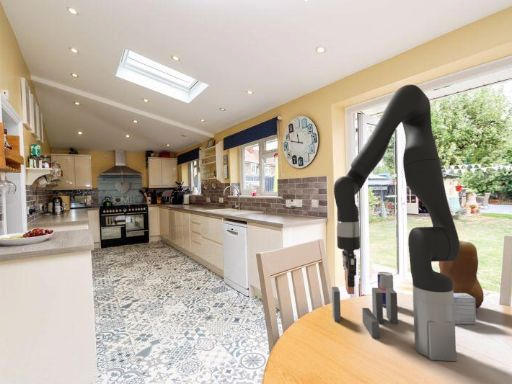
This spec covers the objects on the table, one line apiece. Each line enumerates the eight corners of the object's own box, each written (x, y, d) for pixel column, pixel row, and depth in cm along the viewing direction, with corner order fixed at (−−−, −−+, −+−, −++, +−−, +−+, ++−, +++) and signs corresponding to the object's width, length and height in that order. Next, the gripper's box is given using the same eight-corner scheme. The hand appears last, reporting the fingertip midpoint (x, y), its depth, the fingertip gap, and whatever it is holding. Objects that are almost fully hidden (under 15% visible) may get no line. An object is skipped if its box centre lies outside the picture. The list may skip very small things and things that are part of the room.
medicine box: (467, 318, 93) (466, 292, 93) (476, 325, 88) (475, 297, 88) (442, 318, 94) (441, 292, 94) (450, 324, 89) (449, 297, 89)
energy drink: (375, 303, 107) (374, 272, 108) (386, 301, 109) (385, 271, 109) (385, 308, 102) (384, 276, 102) (397, 306, 104) (396, 274, 104)
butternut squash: (484, 306, 102) (481, 238, 102) (484, 320, 91) (481, 244, 92) (439, 298, 111) (437, 235, 111) (434, 310, 100) (432, 240, 101)
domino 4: (383, 323, 91) (382, 292, 91) (376, 323, 91) (375, 292, 92) (378, 316, 96) (377, 287, 96) (372, 316, 96) (371, 287, 96)
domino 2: (354, 294, 93) (353, 264, 93) (348, 294, 93) (347, 264, 93) (351, 289, 98) (350, 260, 98) (345, 288, 98) (344, 260, 98)
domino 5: (397, 323, 90) (396, 293, 91) (391, 323, 91) (390, 292, 91) (392, 317, 95) (391, 288, 96) (386, 317, 96) (385, 287, 96)
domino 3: (369, 323, 92) (379, 338, 82) (362, 323, 92) (372, 338, 82) (368, 307, 92) (378, 321, 82) (362, 307, 92) (371, 321, 82)
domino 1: (340, 321, 93) (339, 291, 93) (334, 321, 93) (333, 291, 93) (338, 315, 98) (337, 286, 98) (332, 315, 98) (331, 286, 98)
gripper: (364, 237, 88) (366, 291, 88) (355, 231, 102) (356, 277, 102) (339, 238, 89) (341, 291, 89) (334, 231, 103) (335, 277, 103)
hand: (349, 283), depth 95 cm, fingers closed on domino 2, 5 cm apart
